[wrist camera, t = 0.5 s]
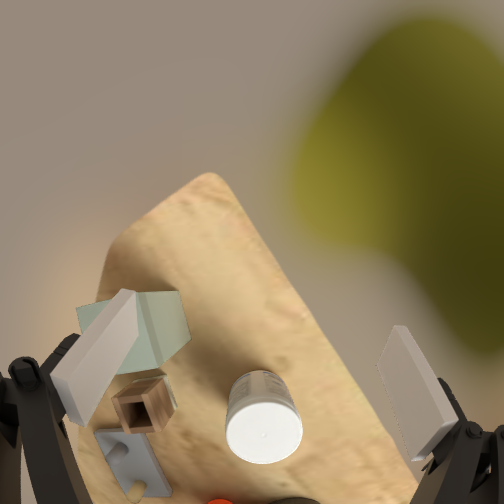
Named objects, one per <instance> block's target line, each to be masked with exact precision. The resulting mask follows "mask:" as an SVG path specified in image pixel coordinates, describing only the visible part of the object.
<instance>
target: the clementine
mask: <svg viewBox="0 0 504 504" xmlns="http://www.w3.org/2000/svg"><path fill="white" fill-rule="evenodd" d="M207 504H233V503H232V502H230V501H228V500H224V499H216V500H212V501H210V502H208V503H207Z"/></svg>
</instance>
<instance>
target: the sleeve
mask: <svg viewBox="0 0 504 504" xmlns="http://www.w3.org/2000/svg"><path fill="white" fill-rule="evenodd" d="M111 399H112V402H113V405H114V407H115V410H116V412H117V415H118V417H119V420H120V422H121V425H122V427H123V429H124V432H125V434H138V433H150V432H160V431H162V430H163V429H164V427H165V426H166V424H167V422H168V421H169V419H170V418H171V416H172V414H173V413H174V411H175V410H176V408H177V404H176V401H175V398H174V395H173V393H172V390H171V387H170V384H169V381H168V378H167V375H161V376H155V377H150V378H143V379H137V380H134V381H133V382H132V383H130V384H129V385H128V386H126V387H125V388H124V389H123V390H121V391H120V392H119V393H117V394H116V395H115V396H113V397H112V398H111Z"/></svg>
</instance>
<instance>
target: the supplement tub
mask: <svg viewBox="0 0 504 504" xmlns="http://www.w3.org/2000/svg"><path fill="white" fill-rule="evenodd" d="M302 433H303V429H302V422H301V418H300V416H299V413H298V411H297V409H296V406H295V404H294V402H293V399H292V397H291V395H290V393H289V390H288V388H287V386H286V384H285V383H284V381H283V380H282V379H281V378H280V377H279V376H277V375H276V374H274V373H271V372H268V371H263V370H257V371H251V372H248V373H246V374H244V375H243V376H241V377H240V378H238V379H237V380H236V381H235V383H234V384H233V386H232V388H231V391H230V395H229V402H228V408H227V415H226V423H225V434H226V440H227V443H228V446H229V447H230V449H231V450H232V451H233V452H234V453H235V454H236V455H237V456H238V457H240V458H241V459H243V460H245V461H248V462H251V463H256V464H269V463H274V462H277V461H280V460H282V459H284V458H286V457H288V456H289V455H290V454H292V453H293V452H294V451H295V450H296V448H297V447H298V445H299V443H300V441H301V438H302Z"/></svg>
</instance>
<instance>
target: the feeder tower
mask: <svg viewBox="0 0 504 504" xmlns="http://www.w3.org/2000/svg"><path fill="white" fill-rule="evenodd" d="M111 300H112V299H109V300H105V301H101V302H97V303H93V304H89V305H85V306H81V307H78V308H76V311H77V315H78V319H79V324H80V328H81V332H82V334H83V332H84V331H85V330H86V329H87V328H88V326H89V325H90V324H91V323H92V322H93V321H94V319H95V318H96V317H97V316H98V315H99V314H100V312H101V311H102V310H103V309H104V308H105V307H106V305H107V304H108V303H109V302H110V301H111ZM136 309H137V322H138V334H139V335H138V337H137V339H136V340H135V342H134V344H133V345H132V347H131V349H130V350H129V352H128V354H127V355H126V357H125V359H124V360H123V362H122V364H121V365H120V367H119V369H118V371H117V372H116V374H115V375H119V374H125V373H132V372H138V371H144V370H150V369H155V368H159V367H160V366H161V365H162V364H163V363H165V362H166V361H167V360H168V359H169V358H170V357H172V356H173V355H174V354H175V353H176V352H177V351H178V350H180V349H181V348H182V347H183V346H184V345H185V344H187V343H188V342H189V341H190V340H191V339H192V338H191V335H190V331H189V328H188V324H187V320H186V317H185V313H184V309H183V306H182V302H181V298H180V294H179V291H159V292H136Z"/></svg>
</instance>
